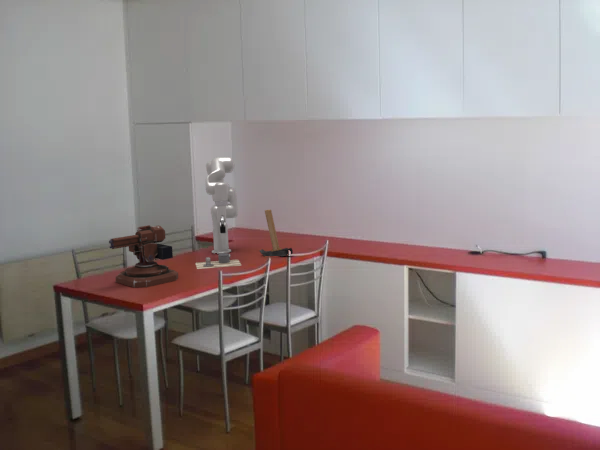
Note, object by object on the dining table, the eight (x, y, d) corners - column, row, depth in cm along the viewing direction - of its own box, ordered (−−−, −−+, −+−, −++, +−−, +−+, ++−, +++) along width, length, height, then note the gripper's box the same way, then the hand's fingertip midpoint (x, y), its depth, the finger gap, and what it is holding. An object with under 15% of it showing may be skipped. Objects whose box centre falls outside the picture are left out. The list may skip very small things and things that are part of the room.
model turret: (100, 283, 381) (95, 229, 377) (155, 272, 405) (151, 221, 401) (127, 291, 361) (122, 234, 357) (183, 279, 386) (179, 225, 381)
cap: (218, 261, 423) (217, 253, 423) (229, 260, 425) (229, 252, 424) (219, 263, 417) (218, 255, 416) (231, 262, 418) (230, 254, 418)
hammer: (261, 259, 441) (251, 213, 438) (264, 258, 446) (254, 212, 443) (290, 255, 434) (280, 207, 431) (293, 253, 439) (283, 206, 436)
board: (195, 264, 422) (194, 254, 421) (238, 261, 427) (237, 251, 427) (197, 270, 405) (196, 260, 404) (241, 267, 410) (241, 257, 409)
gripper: (214, 202, 425) (216, 230, 427) (215, 205, 408) (216, 234, 410) (227, 202, 426) (228, 230, 428) (228, 204, 409) (229, 233, 411)
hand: (222, 232), depth 419 cm, fingers open, 9 cm apart
